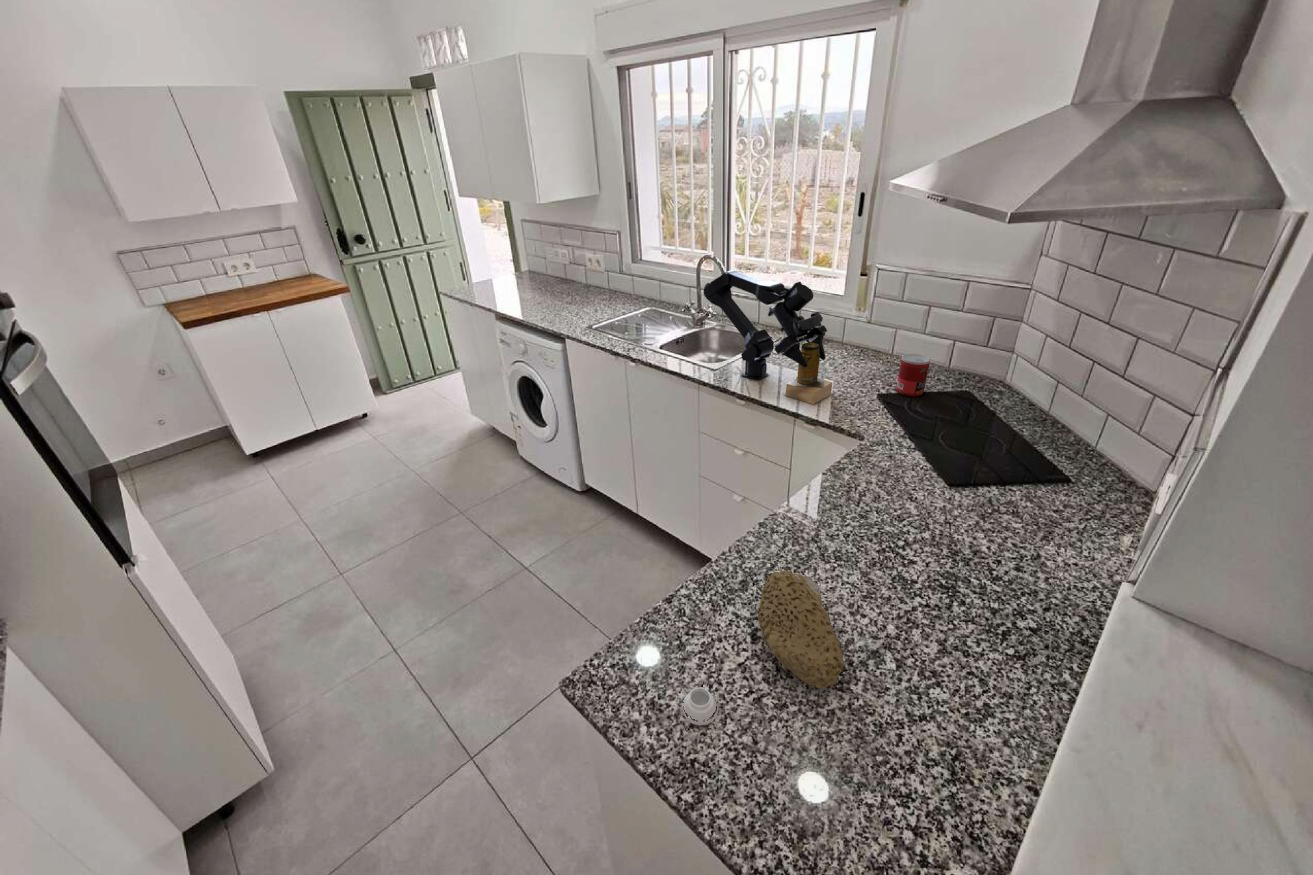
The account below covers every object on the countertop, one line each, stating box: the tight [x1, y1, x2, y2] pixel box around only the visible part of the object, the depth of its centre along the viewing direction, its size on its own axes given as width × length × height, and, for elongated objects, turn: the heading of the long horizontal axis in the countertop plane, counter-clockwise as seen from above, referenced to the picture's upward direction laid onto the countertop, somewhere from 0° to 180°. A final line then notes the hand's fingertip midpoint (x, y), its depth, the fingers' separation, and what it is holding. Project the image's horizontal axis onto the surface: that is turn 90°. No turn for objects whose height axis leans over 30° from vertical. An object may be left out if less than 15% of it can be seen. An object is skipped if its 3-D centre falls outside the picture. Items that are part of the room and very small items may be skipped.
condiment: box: [795, 342, 825, 387], centre depth 163 cm, size 7×8×12 cm
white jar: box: [681, 686, 719, 726], centre depth 75 cm, size 5×3×5 cm
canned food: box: [895, 353, 931, 397], centre depth 164 cm, size 8×8×11 cm
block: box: [785, 378, 833, 405], centre depth 167 cm, size 10×10×4 cm
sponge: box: [757, 570, 845, 689], centre depth 84 cm, size 13×8×20 cm
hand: (815, 363), depth 162 cm, fingers open, 8 cm apart
